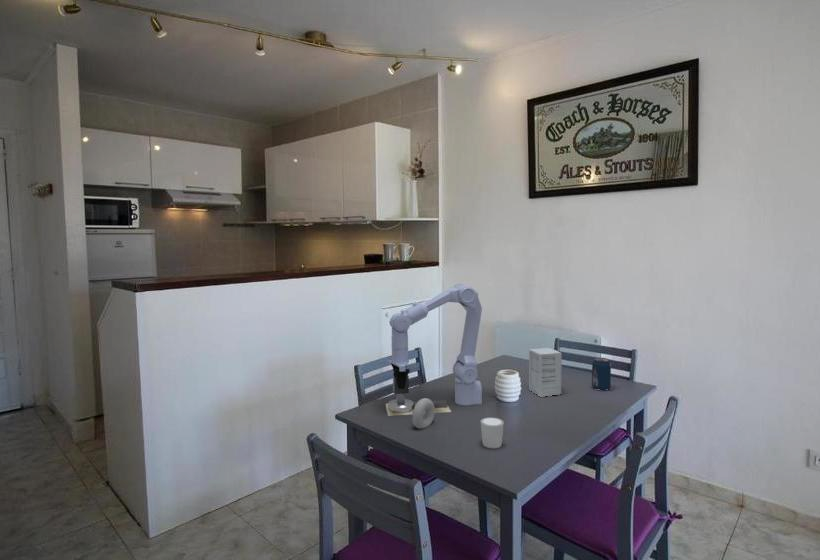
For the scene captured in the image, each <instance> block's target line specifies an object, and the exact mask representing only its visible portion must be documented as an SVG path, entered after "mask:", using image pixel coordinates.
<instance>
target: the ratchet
mask: <svg viewBox="0 0 820 560" xmlns="http://www.w3.org/2000/svg"><path fill="white" fill-rule="evenodd" d="M431 401H432V402H433V404H434V407H435V408H447V407H449V405H448V402H447V400H446V399H440V400H431ZM417 402H418V401H413V400H411V399H407V398H405V395H404V394H396V398H394V399H391V400H388V402H387V403H388V410H389V411H390V412H393V413H407V412H410V411H412V410H413V408H414V407H415V405H416V404H417ZM447 405H448V406H447Z"/></svg>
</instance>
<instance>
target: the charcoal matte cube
mask: <svg viewBox="0 0 820 560" xmlns="http://www.w3.org/2000/svg"><path fill="white" fill-rule="evenodd" d="M409 377H410V376H409V374H408V375H407V378H406V384H405V388H404V389H398V385H397V379H396V375H395V373H394V372H392V391H393V394H394V395H404V394H409V392H410V390H409V385H410V384H409V383H410V382H409V381H410V380H409V379H410V378H409Z"/></svg>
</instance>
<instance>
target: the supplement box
mask: <svg viewBox="0 0 820 560" xmlns="http://www.w3.org/2000/svg"><path fill="white" fill-rule="evenodd" d="M562 354H563V353H562V352H560V351H558V350H555V349H554V348H550V347H542V348H541V347H540V348H529V349H528V358H529V359H528V391H529V390H530V391H529V392H531V391H532V392H531V393H533V394H534V393H535V394H534V395H536V394H537V395H538V397H539V396H540V397H539V398H546V397H545V396H548V397H553V396H552V395H558V396H560V395H559V394H561V395H562V360H563V359H562ZM537 395H536V396H537Z"/></svg>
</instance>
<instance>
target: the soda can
mask: <svg viewBox="0 0 820 560" xmlns="http://www.w3.org/2000/svg"><path fill="white" fill-rule="evenodd" d="M591 363H592V364H591V369H592V370H591V386H592V388H593V389H594V388H595V389H600V390H606V389H610V388H611V377H612V376H611V374H612V372H611V371H612V364H611V362H610V359H609V358H606V357H594V358H593V361H592V362H591ZM595 389H594V390H595Z"/></svg>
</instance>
